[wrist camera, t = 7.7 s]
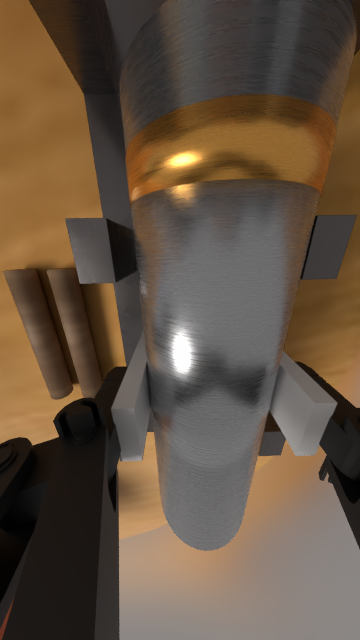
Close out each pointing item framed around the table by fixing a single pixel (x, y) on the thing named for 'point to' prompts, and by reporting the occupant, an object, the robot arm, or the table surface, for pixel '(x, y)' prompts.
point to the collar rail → (109, 155)
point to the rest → (43, 331)
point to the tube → (224, 224)
